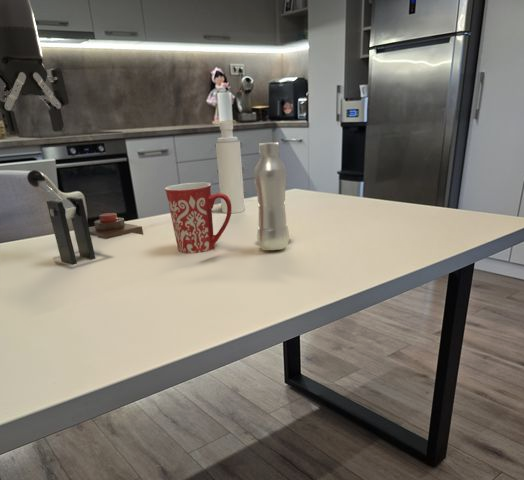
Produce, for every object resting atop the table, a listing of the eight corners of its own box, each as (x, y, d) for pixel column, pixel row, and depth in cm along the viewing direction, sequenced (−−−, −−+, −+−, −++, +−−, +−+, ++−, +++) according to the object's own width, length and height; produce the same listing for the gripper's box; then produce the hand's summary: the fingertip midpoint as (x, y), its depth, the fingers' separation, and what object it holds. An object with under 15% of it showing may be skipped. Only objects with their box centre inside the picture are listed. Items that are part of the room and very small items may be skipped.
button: (97, 222, 116) (96, 215, 115) (112, 219, 118) (110, 212, 118) (106, 224, 113) (104, 216, 113) (121, 221, 116) (119, 213, 115)
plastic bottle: (252, 253, 96) (245, 145, 87) (265, 244, 102) (259, 142, 93) (282, 254, 94) (278, 144, 85) (294, 245, 100) (291, 141, 91)
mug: (167, 260, 95) (156, 190, 89) (182, 248, 103) (174, 183, 97) (229, 260, 93) (222, 187, 86) (239, 248, 100) (234, 180, 94)
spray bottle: (244, 212, 135) (237, 114, 124) (221, 214, 135) (211, 115, 124) (245, 208, 141) (238, 114, 130) (222, 209, 141) (213, 115, 130)
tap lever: (24, 183, 95) (23, 168, 93) (40, 180, 97) (39, 166, 95) (62, 222, 90) (62, 207, 88) (78, 219, 92) (78, 204, 90)
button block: (81, 238, 118) (77, 221, 116) (116, 230, 124) (113, 214, 123) (107, 244, 111) (104, 227, 109) (143, 235, 117) (140, 218, 115)
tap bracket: (49, 267, 96) (31, 201, 90) (85, 257, 101) (71, 194, 95) (74, 275, 90) (56, 205, 84) (111, 264, 95) (97, 198, 89)
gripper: (39, 33, 88) (60, 130, 95) (-42, 26, 78) (-12, 136, 85) (62, 28, 83) (82, 130, 91) (-21, 20, 73) (9, 135, 81)
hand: (36, 133), depth 88 cm, fingers open, 8 cm apart
